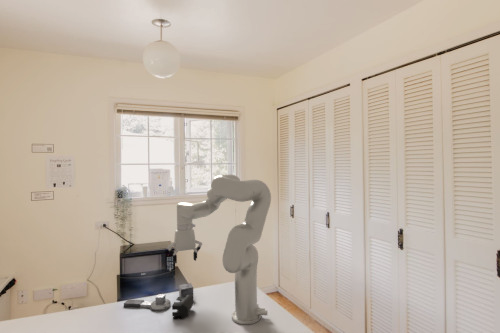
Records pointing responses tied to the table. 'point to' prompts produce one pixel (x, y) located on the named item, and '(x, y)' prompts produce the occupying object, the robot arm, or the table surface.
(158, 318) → the table surface
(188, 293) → the matte grey cube
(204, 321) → the table surface
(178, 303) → the end cap
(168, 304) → the ratchet
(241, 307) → the robot arm
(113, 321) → the table surface
